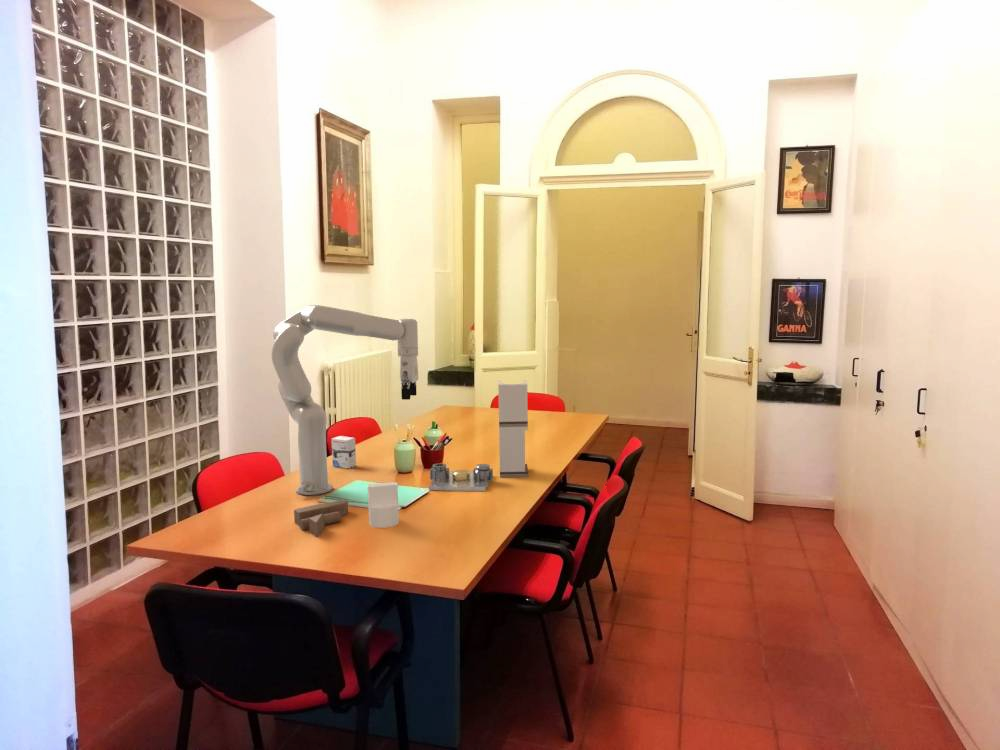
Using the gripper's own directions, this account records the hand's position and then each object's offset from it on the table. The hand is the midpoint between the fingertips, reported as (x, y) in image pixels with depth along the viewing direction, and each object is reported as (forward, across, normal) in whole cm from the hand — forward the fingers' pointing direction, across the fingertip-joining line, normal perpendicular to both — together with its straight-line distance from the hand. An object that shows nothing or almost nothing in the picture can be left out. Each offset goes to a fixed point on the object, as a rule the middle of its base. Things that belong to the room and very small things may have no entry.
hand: (409, 397), depth 262 cm
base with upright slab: (+31, -54, -4) cm, 62 cm away
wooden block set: (+31, -55, +12) cm, 65 cm away
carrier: (+30, -9, -21) cm, 38 cm away
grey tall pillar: (+30, +5, -39) cm, 49 cm away
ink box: (+30, +11, +30) cm, 44 cm away
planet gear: (+28, -9, -13) cm, 33 cm away
